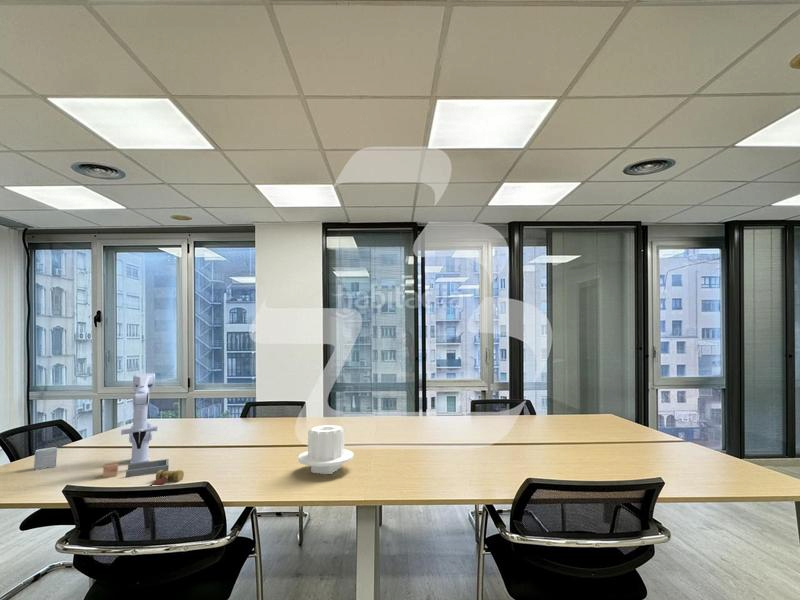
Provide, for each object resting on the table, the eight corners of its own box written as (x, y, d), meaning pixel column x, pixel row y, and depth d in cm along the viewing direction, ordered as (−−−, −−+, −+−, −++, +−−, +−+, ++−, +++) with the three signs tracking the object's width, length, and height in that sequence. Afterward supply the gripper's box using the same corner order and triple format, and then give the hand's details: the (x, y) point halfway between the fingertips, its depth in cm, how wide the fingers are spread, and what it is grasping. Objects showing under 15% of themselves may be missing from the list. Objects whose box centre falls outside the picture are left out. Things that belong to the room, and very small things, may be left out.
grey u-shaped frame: (128, 469, 196) (128, 464, 196) (168, 464, 204) (168, 458, 204) (125, 477, 185) (126, 471, 186) (168, 471, 193) (168, 465, 194)
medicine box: (55, 464, 204) (56, 446, 205) (56, 466, 201) (57, 448, 202) (33, 468, 199) (34, 449, 199) (34, 470, 195) (35, 451, 196)
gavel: (152, 489, 162) (128, 488, 163) (152, 501, 162) (128, 500, 162) (184, 468, 183) (162, 468, 184) (184, 479, 183) (162, 478, 183)
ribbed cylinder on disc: (336, 482, 177) (337, 436, 178) (286, 476, 185) (287, 432, 187) (362, 465, 200) (362, 424, 202) (316, 460, 209) (317, 421, 210)
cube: (104, 475, 189) (105, 463, 189) (117, 473, 191) (118, 462, 191) (102, 478, 184) (103, 466, 185) (116, 476, 187) (117, 464, 187)
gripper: (121, 422, 192) (119, 452, 191) (157, 418, 199) (156, 448, 198) (122, 419, 198) (121, 448, 197) (157, 416, 205) (156, 444, 204)
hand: (138, 448), depth 198 cm, fingers closed
